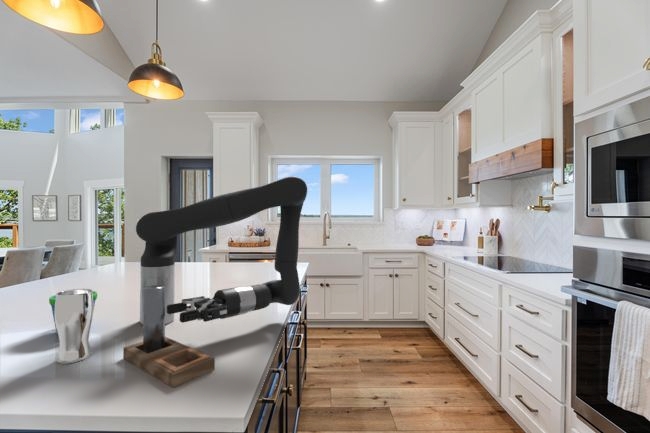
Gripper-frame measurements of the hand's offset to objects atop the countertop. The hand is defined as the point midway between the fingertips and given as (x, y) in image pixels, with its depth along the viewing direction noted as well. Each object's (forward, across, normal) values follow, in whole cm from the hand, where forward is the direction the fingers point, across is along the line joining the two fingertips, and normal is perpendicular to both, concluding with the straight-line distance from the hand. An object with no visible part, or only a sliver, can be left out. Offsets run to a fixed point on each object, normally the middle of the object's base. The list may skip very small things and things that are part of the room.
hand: (173, 313), depth 77 cm
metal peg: (+4, 0, +9) cm, 10 cm away
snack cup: (+15, -32, +9) cm, 37 cm away
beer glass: (+17, -12, +9) cm, 23 cm away
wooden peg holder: (+3, +6, +9) cm, 11 cm away
